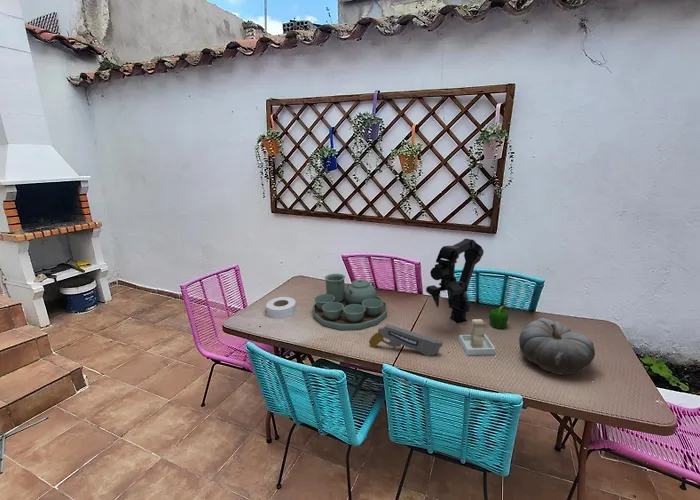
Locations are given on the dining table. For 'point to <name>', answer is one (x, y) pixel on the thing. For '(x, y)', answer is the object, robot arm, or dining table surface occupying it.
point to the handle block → (477, 333)
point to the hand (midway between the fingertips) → (446, 305)
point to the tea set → (349, 304)
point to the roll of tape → (281, 307)
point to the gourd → (556, 347)
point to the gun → (406, 340)
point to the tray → (486, 350)
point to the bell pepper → (498, 317)
